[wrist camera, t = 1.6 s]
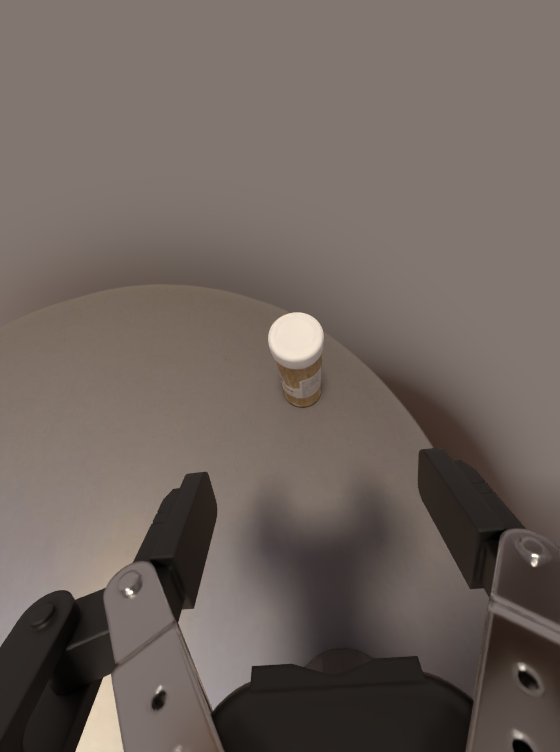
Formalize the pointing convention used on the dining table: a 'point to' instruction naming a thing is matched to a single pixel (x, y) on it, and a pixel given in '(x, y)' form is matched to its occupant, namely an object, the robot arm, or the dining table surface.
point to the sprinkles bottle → (298, 356)
